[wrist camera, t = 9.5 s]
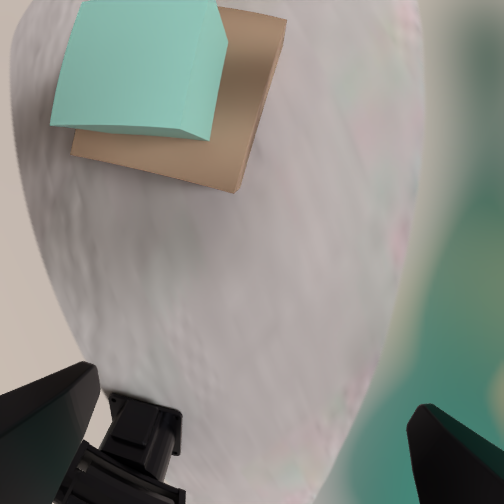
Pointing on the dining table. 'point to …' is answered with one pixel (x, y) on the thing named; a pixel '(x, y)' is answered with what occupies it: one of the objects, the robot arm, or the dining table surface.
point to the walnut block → (224, 121)
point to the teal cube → (142, 68)
